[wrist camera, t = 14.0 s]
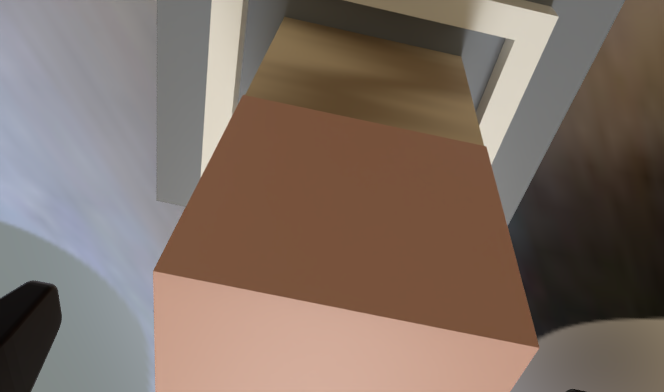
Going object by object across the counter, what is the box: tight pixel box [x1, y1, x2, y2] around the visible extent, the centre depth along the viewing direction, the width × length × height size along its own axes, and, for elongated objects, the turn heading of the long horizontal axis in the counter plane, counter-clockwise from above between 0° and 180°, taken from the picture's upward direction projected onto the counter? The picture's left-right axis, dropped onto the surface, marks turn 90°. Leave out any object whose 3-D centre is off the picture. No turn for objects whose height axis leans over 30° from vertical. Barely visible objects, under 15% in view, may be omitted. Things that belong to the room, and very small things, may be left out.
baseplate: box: [157, 0, 625, 226], centre depth 16 cm, size 12×10×2 cm
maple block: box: [245, 17, 484, 146], centre depth 14 cm, size 5×5×5 cm
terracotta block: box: [153, 95, 539, 392], centre depth 10 cm, size 5×5×5 cm
